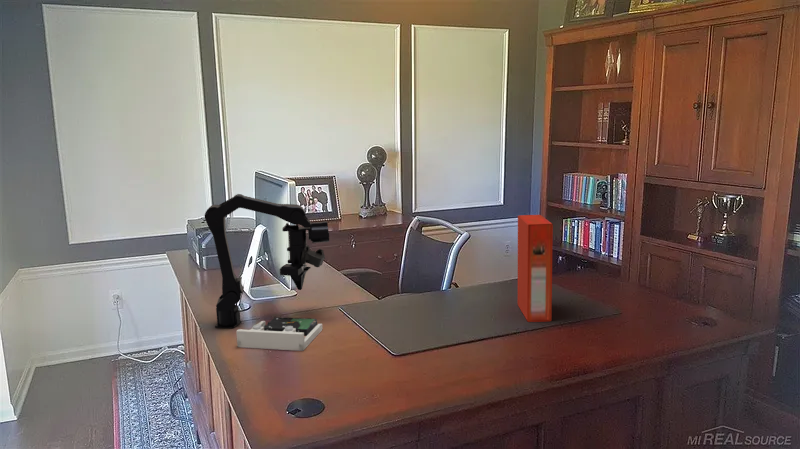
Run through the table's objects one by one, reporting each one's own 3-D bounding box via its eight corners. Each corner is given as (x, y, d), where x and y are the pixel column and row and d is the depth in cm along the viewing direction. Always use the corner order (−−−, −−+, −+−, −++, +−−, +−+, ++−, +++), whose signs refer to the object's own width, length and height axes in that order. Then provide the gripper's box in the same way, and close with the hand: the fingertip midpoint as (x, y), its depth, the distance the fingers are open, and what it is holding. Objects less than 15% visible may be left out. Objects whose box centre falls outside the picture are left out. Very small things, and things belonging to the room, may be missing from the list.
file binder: (526, 321, 191) (527, 224, 186) (516, 305, 208) (517, 215, 203) (551, 321, 191) (553, 223, 186) (539, 304, 208) (541, 214, 203)
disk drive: (262, 336, 186) (308, 337, 183) (261, 327, 185) (307, 328, 183) (274, 325, 196) (317, 325, 193) (273, 317, 195) (317, 317, 193)
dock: (237, 347, 176) (236, 328, 175) (262, 326, 192) (261, 309, 191) (303, 350, 172) (302, 331, 171) (322, 329, 188) (321, 312, 187)
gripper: (311, 250, 184) (313, 299, 187) (330, 238, 202) (331, 282, 205) (277, 249, 186) (280, 297, 189) (298, 237, 204) (301, 281, 207)
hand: (300, 289), depth 197 cm, fingers closed
